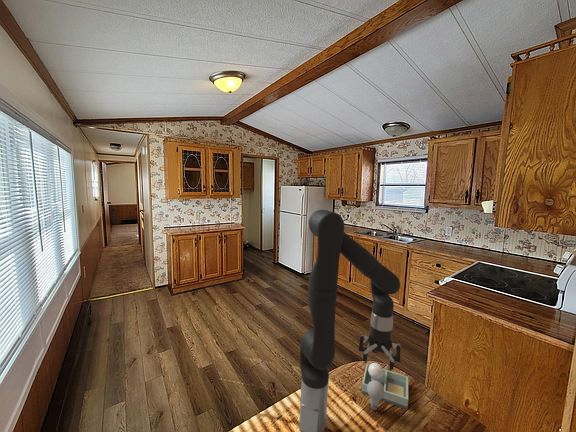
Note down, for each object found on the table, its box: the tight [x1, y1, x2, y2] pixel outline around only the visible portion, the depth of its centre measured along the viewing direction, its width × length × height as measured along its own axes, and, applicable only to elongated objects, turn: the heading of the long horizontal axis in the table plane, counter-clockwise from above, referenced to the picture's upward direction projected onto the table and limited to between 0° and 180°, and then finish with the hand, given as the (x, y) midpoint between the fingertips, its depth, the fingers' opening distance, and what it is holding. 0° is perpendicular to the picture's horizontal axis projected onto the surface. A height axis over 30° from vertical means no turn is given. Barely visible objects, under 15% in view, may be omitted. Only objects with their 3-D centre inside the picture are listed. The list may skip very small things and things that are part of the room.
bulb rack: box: [361, 362, 409, 410], centre depth 107 cm, size 13×17×10 cm
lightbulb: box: [367, 380, 384, 411], centre depth 97 cm, size 6×6×11 cm
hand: (377, 365), depth 95 cm, fingers open, 8 cm apart
